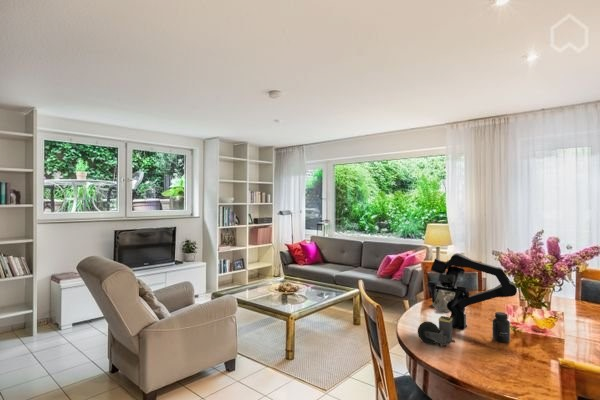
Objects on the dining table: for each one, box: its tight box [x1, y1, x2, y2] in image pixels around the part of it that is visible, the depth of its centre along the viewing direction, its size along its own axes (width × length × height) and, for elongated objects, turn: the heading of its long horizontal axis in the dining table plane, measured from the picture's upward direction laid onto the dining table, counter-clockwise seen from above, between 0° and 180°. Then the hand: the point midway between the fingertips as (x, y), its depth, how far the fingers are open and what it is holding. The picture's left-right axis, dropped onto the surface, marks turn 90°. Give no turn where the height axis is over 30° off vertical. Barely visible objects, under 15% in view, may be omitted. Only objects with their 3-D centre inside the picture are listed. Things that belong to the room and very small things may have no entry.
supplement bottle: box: [492, 311, 511, 344], centre depth 158 cm, size 7×7×12 cm
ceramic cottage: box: [431, 286, 457, 313], centre depth 207 cm, size 16×16×15 cm
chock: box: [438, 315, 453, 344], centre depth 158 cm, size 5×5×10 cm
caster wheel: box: [417, 321, 456, 348], centre depth 155 cm, size 6×10×15 cm
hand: (442, 304), depth 167 cm, fingers open, 9 cm apart
